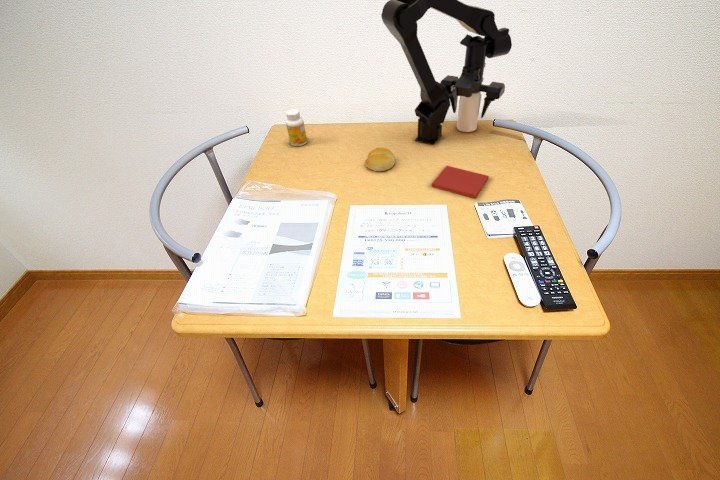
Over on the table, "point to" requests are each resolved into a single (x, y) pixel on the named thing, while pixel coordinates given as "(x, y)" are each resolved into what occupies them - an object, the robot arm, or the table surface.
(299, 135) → the supplement bottle
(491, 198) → the table surface
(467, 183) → the pad
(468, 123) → the can
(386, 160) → the bread roll
